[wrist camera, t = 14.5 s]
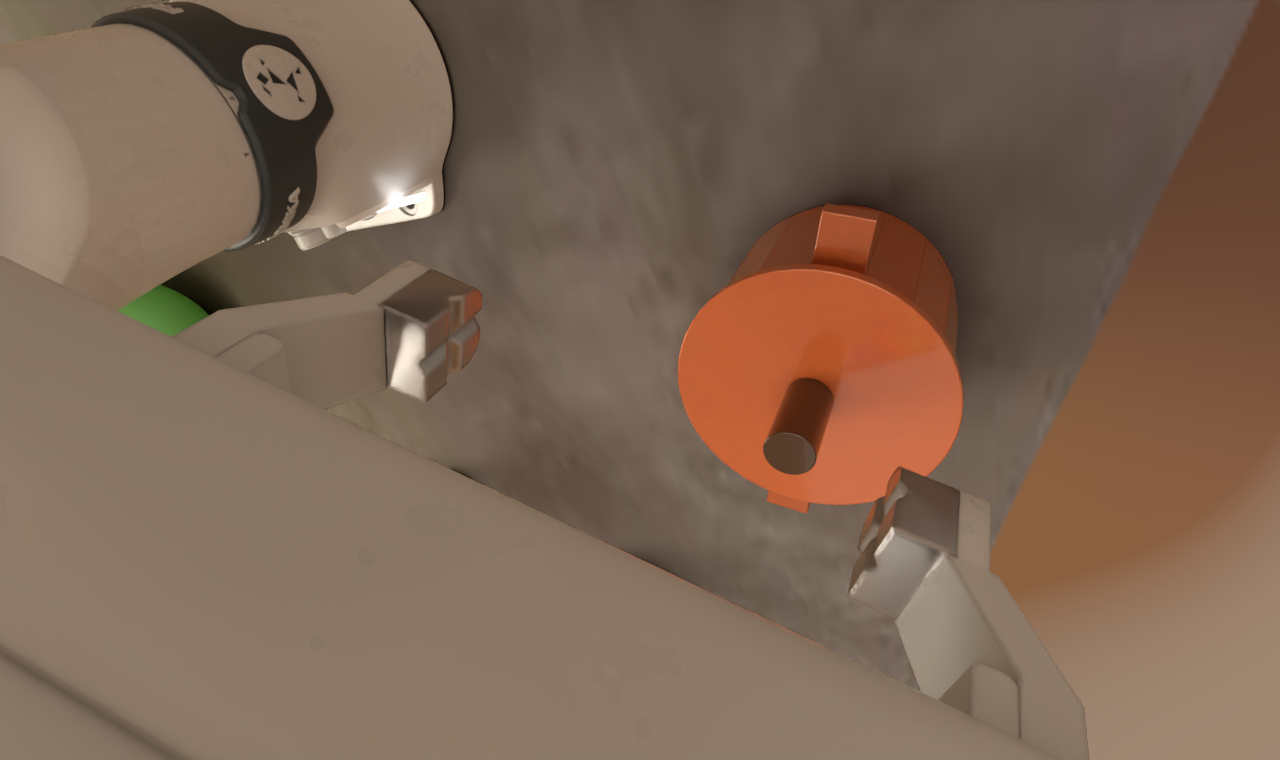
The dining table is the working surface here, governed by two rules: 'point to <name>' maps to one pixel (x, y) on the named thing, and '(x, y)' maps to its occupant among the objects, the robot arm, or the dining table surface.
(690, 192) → the dining table surface
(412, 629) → the robot arm
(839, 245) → the pot
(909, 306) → the lid
